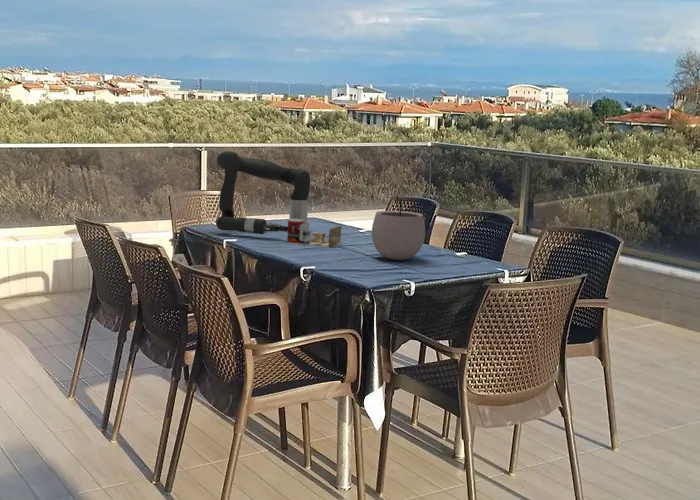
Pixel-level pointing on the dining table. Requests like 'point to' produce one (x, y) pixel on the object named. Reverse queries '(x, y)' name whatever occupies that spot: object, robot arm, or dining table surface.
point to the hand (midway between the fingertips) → (287, 229)
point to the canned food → (294, 230)
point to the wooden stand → (318, 236)
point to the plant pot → (398, 233)
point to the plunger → (307, 233)
